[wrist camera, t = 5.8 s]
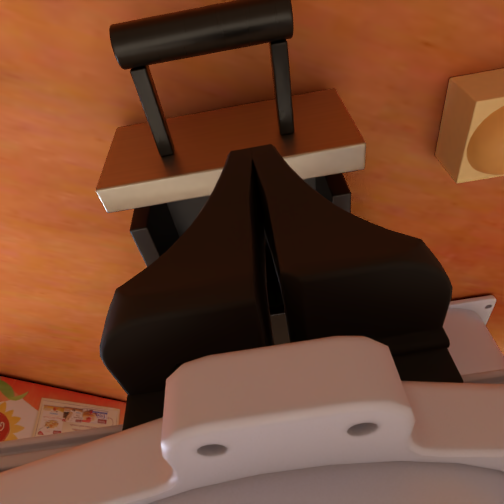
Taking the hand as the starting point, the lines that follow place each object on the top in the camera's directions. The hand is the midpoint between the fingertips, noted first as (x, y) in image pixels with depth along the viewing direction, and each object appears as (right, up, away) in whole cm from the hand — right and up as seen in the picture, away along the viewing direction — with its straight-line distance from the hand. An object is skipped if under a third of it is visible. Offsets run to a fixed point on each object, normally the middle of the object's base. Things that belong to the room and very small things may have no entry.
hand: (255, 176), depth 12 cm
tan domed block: (+13, +5, +9) cm, 16 cm away
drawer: (-1, +2, +9) cm, 9 cm away
